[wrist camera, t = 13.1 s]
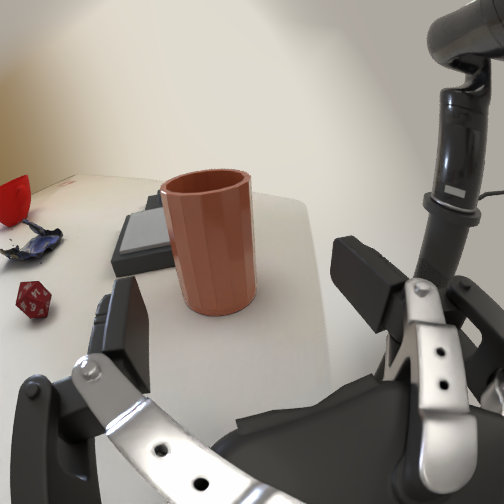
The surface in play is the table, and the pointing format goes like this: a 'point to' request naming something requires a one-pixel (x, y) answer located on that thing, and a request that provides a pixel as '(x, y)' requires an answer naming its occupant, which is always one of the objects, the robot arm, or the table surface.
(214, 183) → the cup
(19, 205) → the ceramic cup
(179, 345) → the table surface
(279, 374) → the table surface
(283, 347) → the table surface
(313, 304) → the table surface
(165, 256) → the scale
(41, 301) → the dice
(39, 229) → the snack package
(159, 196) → the pad
